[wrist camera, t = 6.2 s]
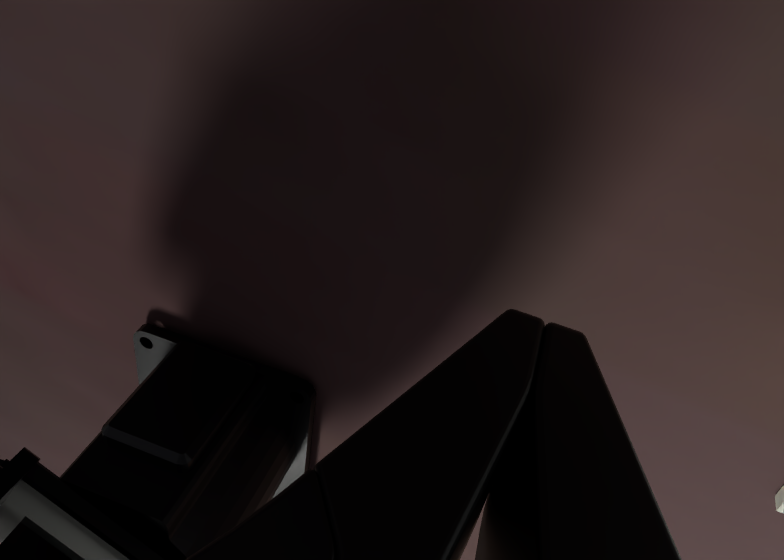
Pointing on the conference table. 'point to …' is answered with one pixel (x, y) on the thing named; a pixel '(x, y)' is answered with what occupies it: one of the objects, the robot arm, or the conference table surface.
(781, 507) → the grey mat
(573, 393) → the robot arm
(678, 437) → the conference table surface
